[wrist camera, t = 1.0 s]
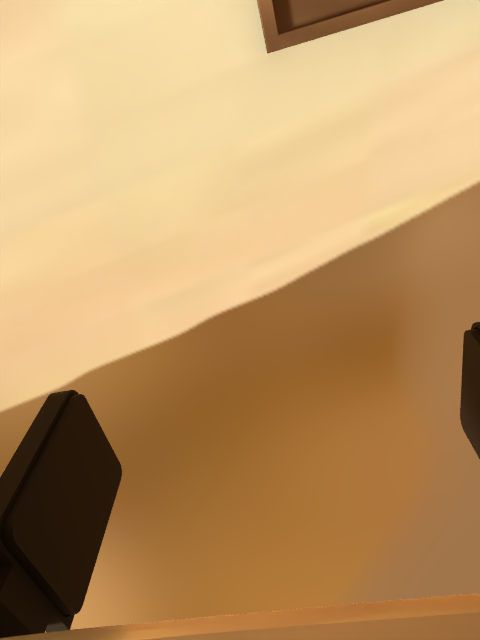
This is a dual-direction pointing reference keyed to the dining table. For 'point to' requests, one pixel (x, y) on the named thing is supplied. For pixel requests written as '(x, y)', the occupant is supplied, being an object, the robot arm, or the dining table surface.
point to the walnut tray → (322, 17)
